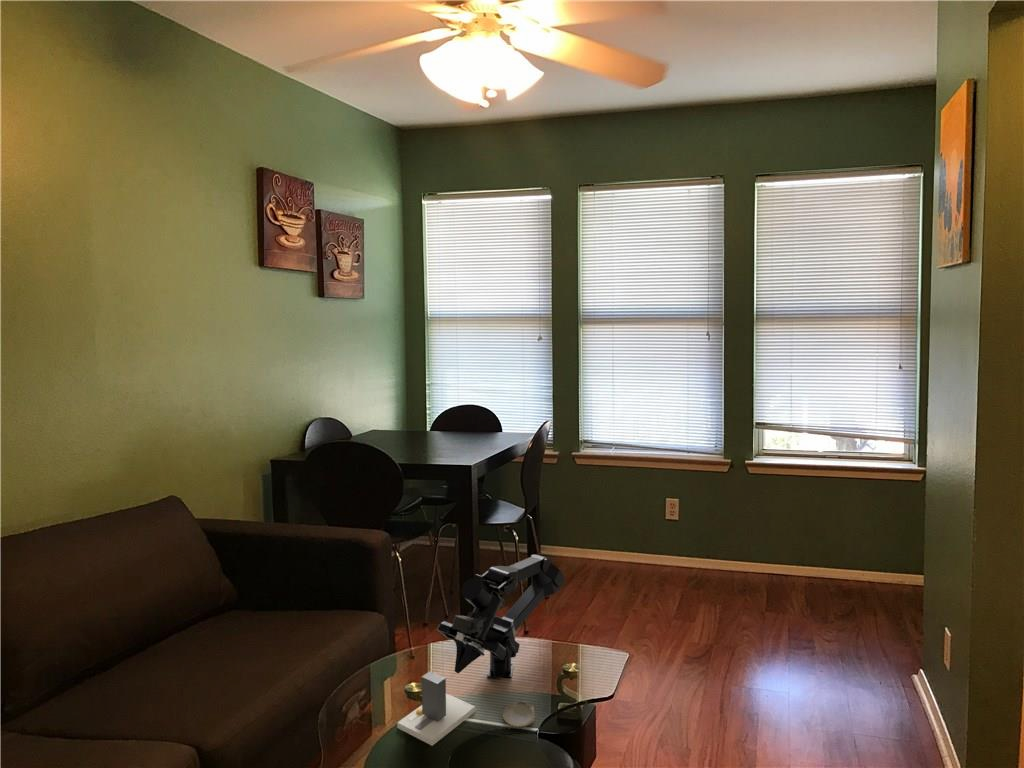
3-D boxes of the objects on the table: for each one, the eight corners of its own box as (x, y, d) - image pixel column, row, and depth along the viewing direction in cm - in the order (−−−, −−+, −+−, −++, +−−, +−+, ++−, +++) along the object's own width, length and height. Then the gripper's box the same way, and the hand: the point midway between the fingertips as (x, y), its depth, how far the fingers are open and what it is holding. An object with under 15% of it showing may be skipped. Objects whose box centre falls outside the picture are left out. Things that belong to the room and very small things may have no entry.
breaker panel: (441, 696, 207) (441, 689, 207) (475, 711, 201) (475, 704, 200) (397, 728, 194) (397, 720, 194) (432, 745, 188) (432, 738, 188)
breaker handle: (430, 707, 199) (429, 671, 197) (446, 715, 196) (445, 678, 194) (422, 713, 197) (421, 676, 194) (437, 721, 194) (437, 683, 192)
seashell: (499, 728, 198) (525, 734, 193) (495, 718, 197) (521, 723, 192) (518, 707, 204) (543, 712, 199) (515, 697, 203) (540, 701, 198)
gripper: (441, 591, 208) (412, 649, 201) (499, 613, 197) (471, 674, 191) (461, 608, 216) (434, 664, 209) (518, 629, 205) (491, 689, 199)
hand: (456, 672), depth 202 cm, fingers closed
